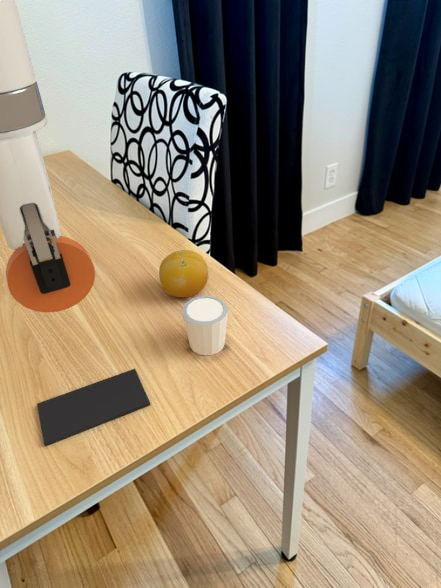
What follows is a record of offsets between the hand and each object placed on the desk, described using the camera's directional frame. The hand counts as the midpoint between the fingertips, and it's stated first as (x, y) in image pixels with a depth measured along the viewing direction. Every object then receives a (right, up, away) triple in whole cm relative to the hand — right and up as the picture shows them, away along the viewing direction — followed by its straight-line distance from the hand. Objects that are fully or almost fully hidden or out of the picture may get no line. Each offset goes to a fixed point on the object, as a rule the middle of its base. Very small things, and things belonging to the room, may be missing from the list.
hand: (53, 282), depth 48 cm
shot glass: (+16, -9, +21) cm, 28 cm away
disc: (0, -3, +2) cm, 4 cm away
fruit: (+12, -1, +31) cm, 34 cm away
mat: (+1, -17, +11) cm, 20 cm away
